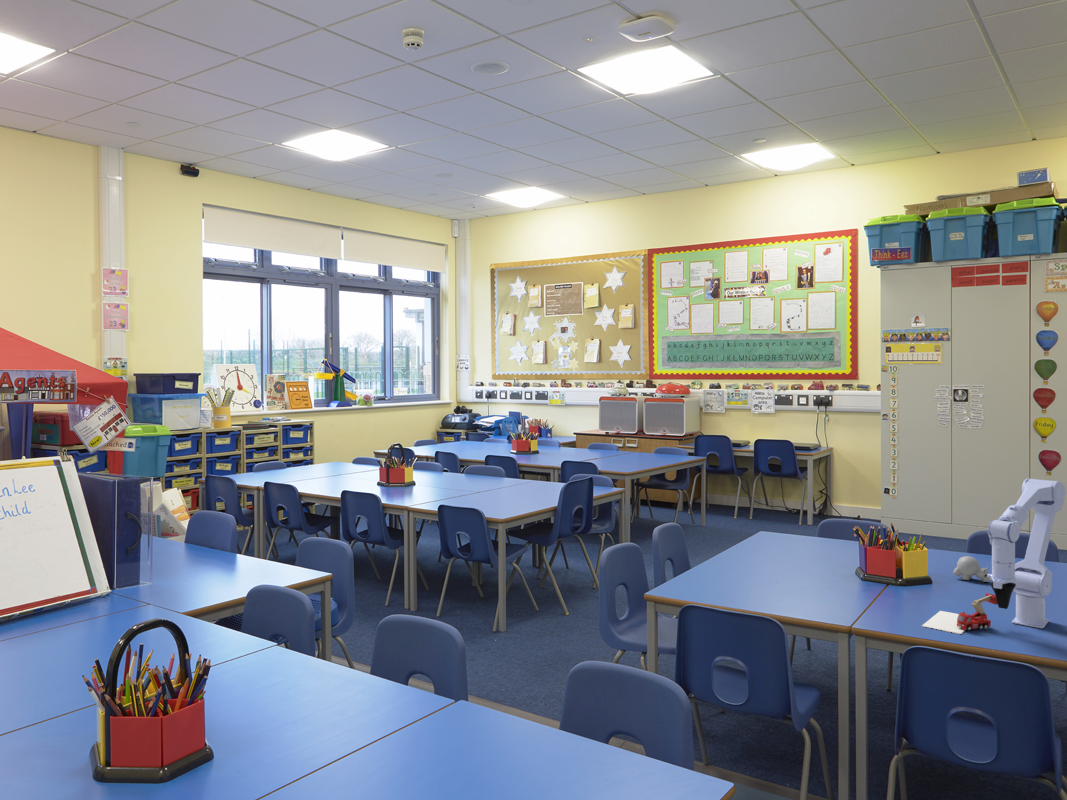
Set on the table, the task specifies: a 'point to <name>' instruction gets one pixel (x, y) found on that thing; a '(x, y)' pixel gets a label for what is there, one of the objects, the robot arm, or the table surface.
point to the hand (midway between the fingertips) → (1003, 607)
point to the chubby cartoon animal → (970, 569)
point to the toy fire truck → (976, 615)
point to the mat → (944, 622)
